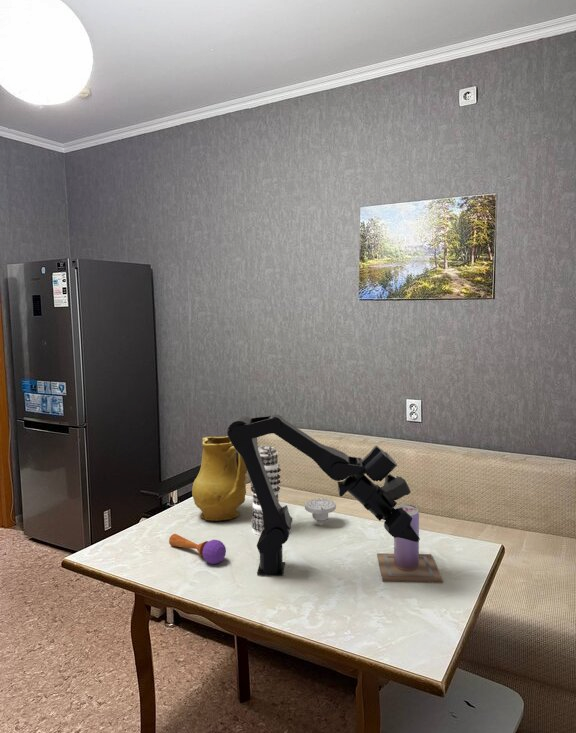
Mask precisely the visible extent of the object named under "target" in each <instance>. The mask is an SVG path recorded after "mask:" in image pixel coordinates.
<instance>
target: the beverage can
mask: <svg viewBox="0 0 576 733" xmlns="http://www.w3.org/2000/svg"><path fill="white" fill-rule="evenodd" d="M394 508H395V509H397V508H402V509H403V510H405V511H406V512H407V513H408V514H409V515H410V516H411V517H412V521H411V523H410V525H411V527H412V528H413V530H414V531H415V533H416V534H417V535H418V537H419V538H420V513H419V508H418V507H417V506H415V505H413V504H409V503H401V504H396V505H395V506H394ZM419 541H420V540H419ZM419 541H418V542H414V541H411V540H407V539H403V538H399V537H397V538H394V537H393V549H394V550H393V554H394V563H395V565H396V566H397V567H398V568H399V569H402V570H407V571H409V570H414V569H415V568H416V567H417V566H418V564H419V554H420V553H419V552H420V551H419V550H420V542H419Z"/></svg>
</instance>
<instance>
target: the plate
mask: <svg viewBox="0 0 576 733" xmlns="http://www.w3.org/2000/svg"><path fill="white" fill-rule="evenodd" d="M376 557H377V558H376V559H377V561H378V567H379V571H380V576H381V580H382V582H383V583H424V584H425V583H426V584H427V583H431V584H432V582H433V584H435V583H436V584H437V583H438V584H441V583H442V584H443V583H444V580H443V578H442V577H443V576H442V575H441V572H440V571H439V569H438V567H437V564H436V562H435V560H434V558H433V555H432V554H431V553H419V564H418V566H417V567H416V568H415V569H414V570H409V571H407V570H402V569H399V568H398V567H397V566H396V565H395V563H394V553H381V552H380V553H379V552H377V553H376Z"/></svg>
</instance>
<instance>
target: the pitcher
mask: <svg viewBox="0 0 576 733" xmlns="http://www.w3.org/2000/svg"><path fill="white" fill-rule="evenodd" d="M201 441H202V453H201V454H202V456H201V463H200V464H201V465H200V469H199V472H198V474H197V476H196V478H194V481H193V484H192V488H191V495H192V498H193V501H194V502H193V503H194V505H195V506H196V507H197V508H198V509H199V510H200V511H201V513H200V517H201V518H202V519H204V520H206V521H216V522H217V521H226V520H232V519H234V518H238V517H239V515H240V512H239V511H238V508H239V507H240V506H241V505H242V504H244V503H245V501H246V495H247V488H246V487H247V484H246V483H247V482H246V479H247V478H246V477H247V476H246V474H248V471H247V469H246V466H245V463H244V461H243V458H242V457H241V455H240V454H239V453H238V452H237V451H236V449H235V448H234V446H233V445H232V443H231V441H230V440H229V438H228V435H227V436H205V437H202V439H201ZM237 454H238V465H237Z"/></svg>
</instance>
